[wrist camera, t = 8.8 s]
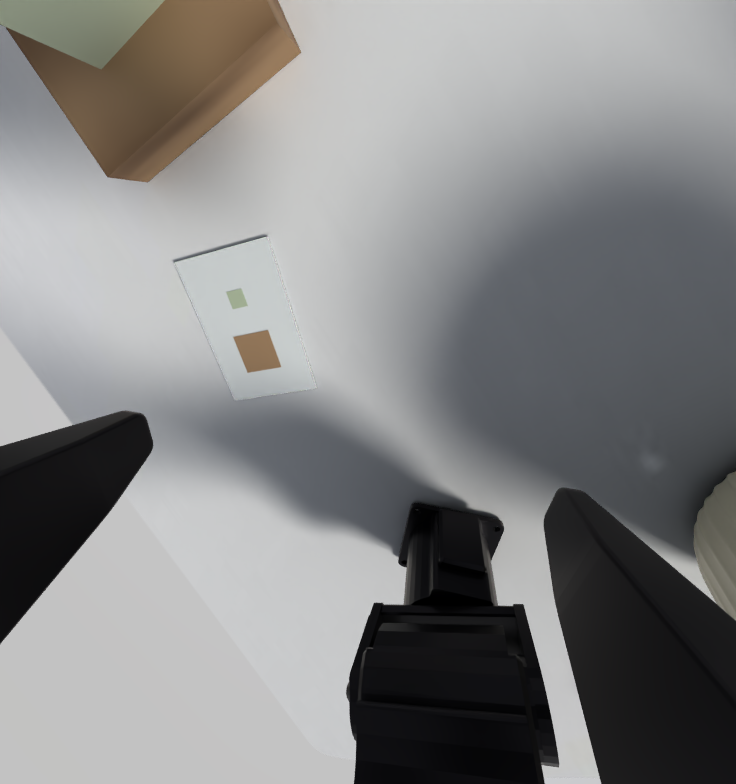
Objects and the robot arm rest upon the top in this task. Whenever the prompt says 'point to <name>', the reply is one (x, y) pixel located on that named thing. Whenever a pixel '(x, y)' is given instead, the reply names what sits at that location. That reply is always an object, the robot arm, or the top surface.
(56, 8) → the pillar
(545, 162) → the top surface
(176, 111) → the foundation slab
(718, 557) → the canister
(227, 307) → the blueprint card
